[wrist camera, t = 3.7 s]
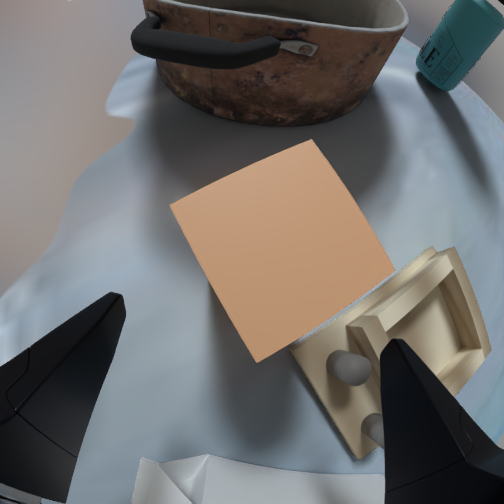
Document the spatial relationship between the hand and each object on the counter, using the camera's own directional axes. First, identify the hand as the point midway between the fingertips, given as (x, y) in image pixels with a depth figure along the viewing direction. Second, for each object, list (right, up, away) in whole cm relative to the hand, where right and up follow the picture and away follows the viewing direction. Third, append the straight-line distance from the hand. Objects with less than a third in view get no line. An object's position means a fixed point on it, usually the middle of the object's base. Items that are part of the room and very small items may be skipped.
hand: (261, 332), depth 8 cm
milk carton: (+10, -19, +3) cm, 22 cm away
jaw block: (0, 0, +10) cm, 10 cm away
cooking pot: (+1, +23, +15) cm, 28 cm away
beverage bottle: (+23, +25, +17) cm, 38 cm away
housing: (+11, -5, +10) cm, 16 cm away
